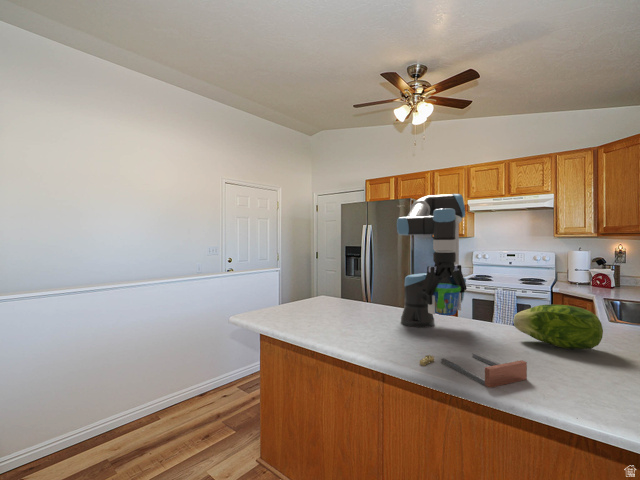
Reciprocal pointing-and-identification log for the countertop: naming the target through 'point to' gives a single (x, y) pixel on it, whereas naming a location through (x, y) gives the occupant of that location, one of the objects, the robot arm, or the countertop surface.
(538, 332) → the lettuce
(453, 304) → the snack cup
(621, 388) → the countertop surface
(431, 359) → the brass key
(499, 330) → the countertop surface
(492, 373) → the bracket
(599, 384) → the countertop surface
